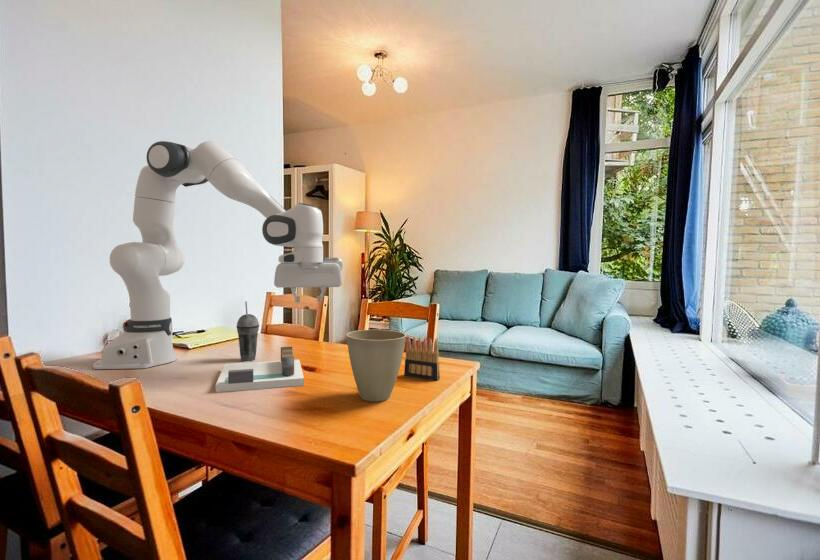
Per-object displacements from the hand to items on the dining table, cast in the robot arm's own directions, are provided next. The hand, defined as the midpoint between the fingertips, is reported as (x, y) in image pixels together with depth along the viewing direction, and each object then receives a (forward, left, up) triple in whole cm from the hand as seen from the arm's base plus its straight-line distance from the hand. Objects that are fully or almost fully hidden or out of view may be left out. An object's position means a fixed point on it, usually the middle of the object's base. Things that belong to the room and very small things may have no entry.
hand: (308, 302), depth 129 cm
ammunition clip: (+31, -17, -21) cm, 42 cm away
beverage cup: (-18, +18, -21) cm, 33 cm away
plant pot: (+14, -31, -21) cm, 40 cm away
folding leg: (-7, -5, -19) cm, 20 cm away
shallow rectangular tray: (-13, -5, -21) cm, 26 cm away
